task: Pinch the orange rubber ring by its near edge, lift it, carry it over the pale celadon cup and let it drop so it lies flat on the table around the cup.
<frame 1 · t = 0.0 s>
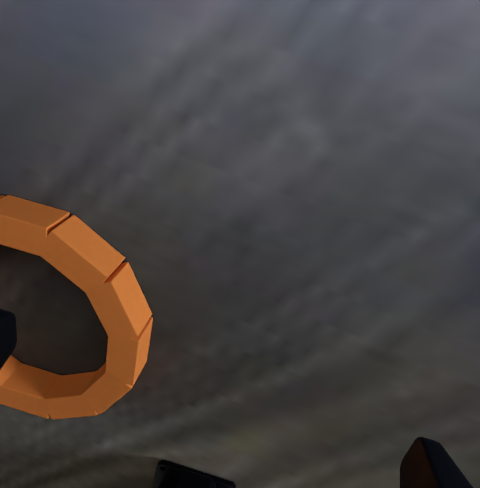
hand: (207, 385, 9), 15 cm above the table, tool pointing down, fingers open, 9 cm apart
ring: (40, 307, 29), on the table
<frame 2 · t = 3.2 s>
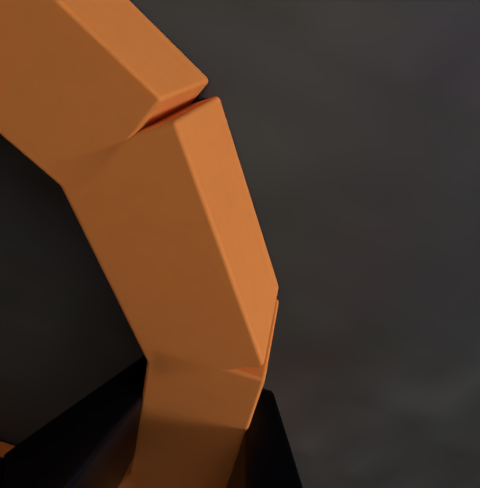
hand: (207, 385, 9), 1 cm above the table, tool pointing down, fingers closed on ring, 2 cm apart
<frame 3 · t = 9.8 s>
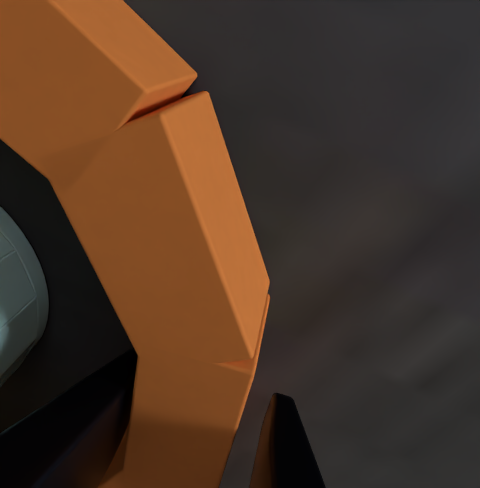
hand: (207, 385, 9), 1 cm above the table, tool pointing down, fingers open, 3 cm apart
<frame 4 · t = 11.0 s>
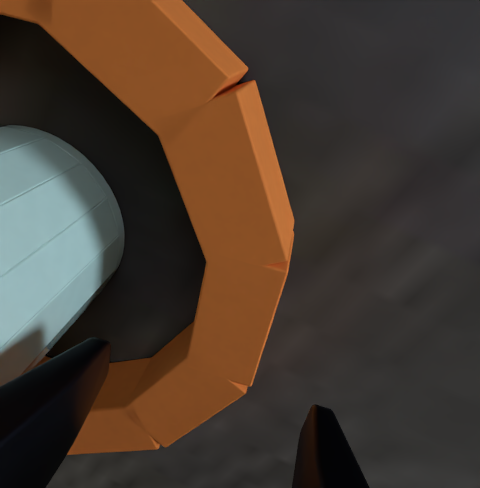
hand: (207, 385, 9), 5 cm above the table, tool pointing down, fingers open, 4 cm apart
ring: (39, 218, 14), on the table
cup: (37, 219, 14), on the table
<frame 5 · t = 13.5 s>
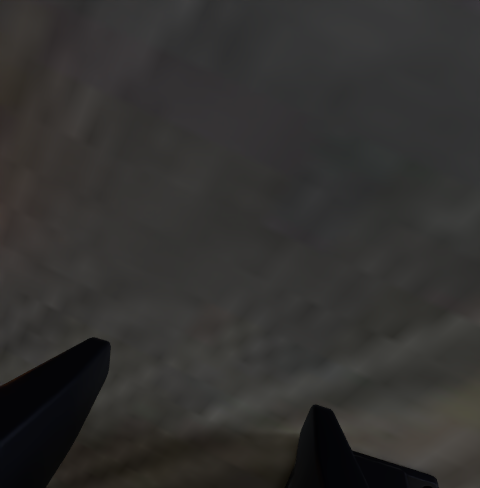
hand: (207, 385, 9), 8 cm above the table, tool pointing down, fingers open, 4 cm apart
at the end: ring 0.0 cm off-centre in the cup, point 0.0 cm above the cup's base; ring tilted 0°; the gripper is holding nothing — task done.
